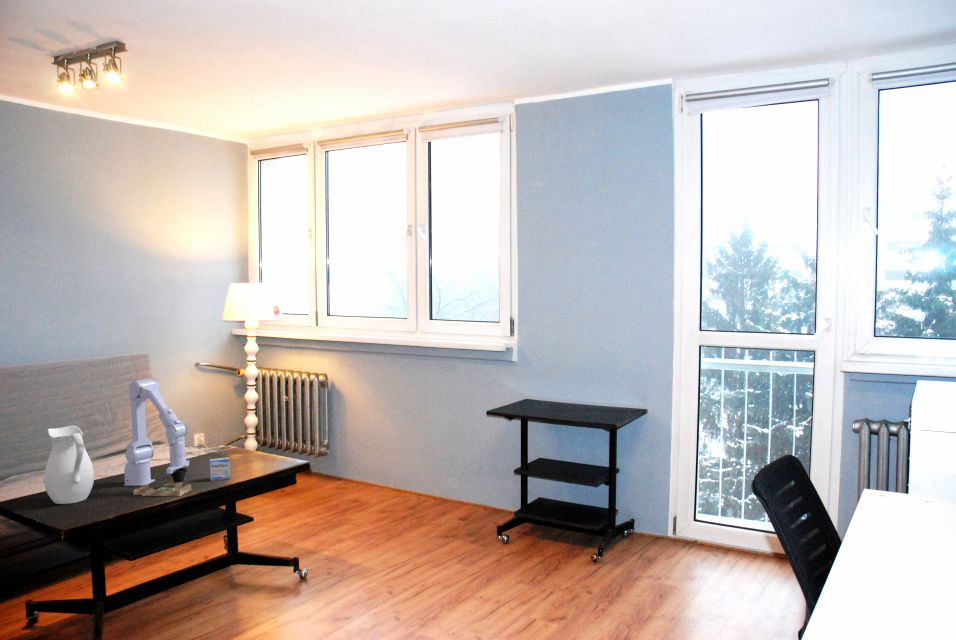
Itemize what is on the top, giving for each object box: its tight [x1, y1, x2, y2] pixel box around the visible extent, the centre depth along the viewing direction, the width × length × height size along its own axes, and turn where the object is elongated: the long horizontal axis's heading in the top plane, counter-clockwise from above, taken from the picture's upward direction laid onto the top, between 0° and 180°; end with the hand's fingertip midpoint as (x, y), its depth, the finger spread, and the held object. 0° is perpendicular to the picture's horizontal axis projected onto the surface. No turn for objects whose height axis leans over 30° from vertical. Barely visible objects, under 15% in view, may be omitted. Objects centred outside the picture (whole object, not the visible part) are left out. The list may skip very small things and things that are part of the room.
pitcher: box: [43, 424, 95, 505], centre depth 287 cm, size 24×17×28 cm
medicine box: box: [209, 456, 231, 482], centre depth 317 cm, size 8×4×9 cm, turn 112°
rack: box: [132, 483, 192, 497], centre depth 298 cm, size 19×9×3 cm, turn 84°
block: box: [163, 481, 184, 490], centre depth 298 cm, size 5×5×4 cm
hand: (179, 487), depth 302 cm, fingers closed
